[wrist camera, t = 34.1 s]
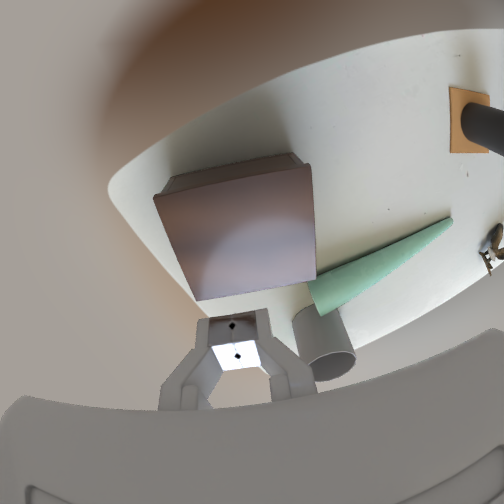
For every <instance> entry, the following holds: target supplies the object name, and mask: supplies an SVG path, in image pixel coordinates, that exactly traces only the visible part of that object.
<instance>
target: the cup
mask: <svg viewBox="0 0 504 504" xmlns="http://www.w3.org/2000/svg"><path fill="white" fill-rule="evenodd" d="M292 323H293V331H294V335H295V340H296V344H297V348H298V353H299V357H300V358H301V359H302V360H303V361H304V362H306V363H307V364H308V365H309V366H310V367H311V368H312V372H313V376H314V380H315V382H324V381H330V380H333V379H336V378H339V377H341V376H343V375H344V374H346V373H347V372H349V371H350V370H351V369H352V368H353V367H354V365H355V363H356V360H357V358H356V355H355V352H354V349H353V347H352V344H351V342H350V339H349V337H348V334H347V331H346V329H345V326H344V324H343V321H342V319H341V317H340V314H339V312H338V311H337V309H334V310H333V311H331V312H329V313H327V314H325V315H324V316H322V317H321V316H320V314H319V312H318V310H317V308H316V306H315V304H314V305H312V306H309V307H306V308H304V309H303V310H302V311H300V312H299V313H298V314H297V315H296V316H295V318H294V320H293V322H292Z"/></svg>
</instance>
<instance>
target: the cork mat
mask: <svg viewBox="0 0 504 504" xmlns="http://www.w3.org/2000/svg"><path fill="white" fill-rule="evenodd" d="M449 94H450V121H451V133H450V153H489V149H487V148H485V147H483V146H480V145H478V144H476V143H473V142H471V141H469V140H468V139H467V138H466V137H465V136H464V134H463V131H462V128H461V114H462V110H463V108H464V107H465V105H466V104H468V103H470V102H474V103H478V104H482V105H485V106H489V107H490V98H489V95H486V94H482V93H477V92H473V91H468V90H463V89H458V88H452V87H449Z"/></svg>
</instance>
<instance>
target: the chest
mask: <svg viewBox="0 0 504 504" xmlns="http://www.w3.org/2000/svg"><path fill="white" fill-rule="evenodd" d="M299 164H304V163H303V162H302V161H301V160H300V159H299V158H298V157H297V156H296V155H295V154H294V153H293V152H292V153H285V154H279V155H273V156H267V157H261V158H255V159H250V160H245V161H240V162H235V163H230V164H225V165H220V166H216V167H211V168H207V169H202V170H198V171H194V172H190V173H186V174H182V175H178V176H174V177H171V178H170V180H169V181H168V183H167V184H166V186H165V187H164V189H163V190H162V192H161V193H163V192H166V191H170V190H174V189H178V188H182V187H186V186H191V185H195V184H199V183H204V182H208V181H213V180H217V179H222V178H227V177H231V176H236V175H241V174H247V173H252V172H257V171H263V170H268V169H274V168H280V167H286V166H292V165H299Z"/></svg>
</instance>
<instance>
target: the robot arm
mask: <svg viewBox="0 0 504 504" xmlns="http://www.w3.org/2000/svg"><path fill="white" fill-rule="evenodd" d="M255 366H262V367H263V368H264V369H265V370H266V372H267V373H268V374H269V375H270V376H271V378H270V379H269V380H270V390H271V399H272V402H269V403H262V404H255V405H248V406H239V407H229V408H218V409H213V407H212V406H211V405H210V403H209V402H208V400H207V399H208V397H209V395H210V394H211V392H212V391H213V389H214V387H215V386H216V384H217V382H218V381H219V379H220V377H221V375H222V373H223V371H226V370H233V369H239V368H247V367H255ZM0 504H504V332H502V331H500V330H498V329H495V328H492V329H489V330H486V331H485V332H483V333H481V334H479V335H477V336H475V337H473V338H471V339H469V340H467V341H465V342H463V343H461V344H459V345H457V346H455V347H453V348H451V349H449V350H446V351H444V352H442V353H440V354H438V355H435V356H433V357H430V358H428V359H425V360H423V361H421V362H418V363H415V364H413V365H410V366H408V367H405V368H402V369H399V370H397V371H394V372H391V373H388V374H385V375H382V376H379V377H376V378H373V379H369V380H366V381H363V382H360V383H356V384H352V385H349V386H345V387H342V388H337V389H334V390H330V391H325V392H321V393H318V392H317V388H316V384H315V380H314V376H313V372H312V368H311V367H310V366H309V365H308V364H307V363H306V362H304V361H303V360H302V359H301V358H300V357H298V356H297V355H296V354H295V353H294V352H293V351H291V350H290V349H289V348H288V347H287V346H286V345H284V344H283V343H282V342H281V341H280V340H279V339H277V338H276V337H273V334H272V329H271V324H270V319H269V314H268V309H267V308H264V309H259V310H254V311H249V312H243V313H237V314H233V315H225V316H218V317H210V318H204V319H199V320H198V322H197V331H196V342H195V349H191V351H190V352H189V353H188V354H187V355H186V357H185V358H184V359H183V360H182V361H181V363H180V364H179V365H178V366H177V367H176V369H175V370H174V371H173V372H172V374H171V375H170V376H169V377H168V378H167V380H166V381H165V382H164V383H163V384H162V386H161V390H160V398H159V405H158V411H145V410H144V411H143V410H123V409H109V408H98V407H89V406H80V405H74V404H67V403H61V402H55V401H50V400H45V399H40V398H35V397H31V396H26V395H24V396H21V397H20V398H19V399H17V400H16V401H15V402H14V403H13V404H12V405H11V406H10V407H9V408H8V409H7V410H6V411H5V413H4V415H3V416H2V418H1V421H0Z"/></svg>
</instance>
